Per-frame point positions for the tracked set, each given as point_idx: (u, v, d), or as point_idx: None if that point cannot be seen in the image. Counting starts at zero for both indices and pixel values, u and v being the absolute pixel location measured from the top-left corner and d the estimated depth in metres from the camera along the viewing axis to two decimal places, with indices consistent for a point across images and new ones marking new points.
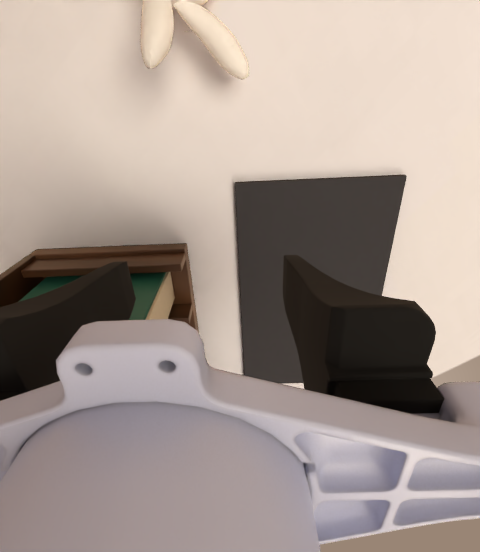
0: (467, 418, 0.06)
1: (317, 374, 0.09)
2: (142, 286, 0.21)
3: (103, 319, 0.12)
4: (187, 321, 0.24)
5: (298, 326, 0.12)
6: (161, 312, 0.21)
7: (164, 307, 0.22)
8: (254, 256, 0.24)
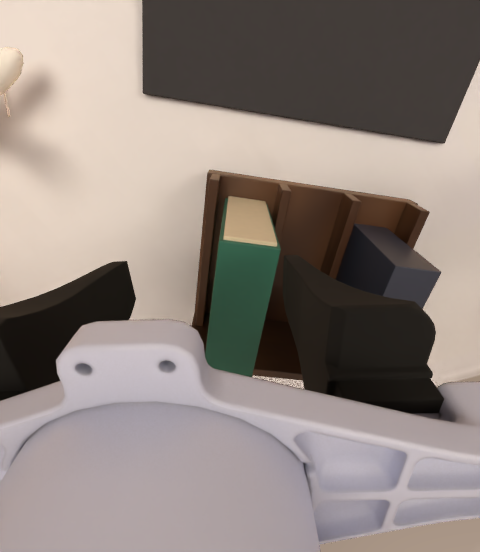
0: (467, 418, 0.06)
1: (317, 374, 0.09)
2: None
3: (103, 319, 0.12)
4: (287, 192, 0.19)
5: (298, 326, 0.12)
6: (247, 215, 0.18)
7: (250, 211, 0.19)
8: (236, 85, 0.19)
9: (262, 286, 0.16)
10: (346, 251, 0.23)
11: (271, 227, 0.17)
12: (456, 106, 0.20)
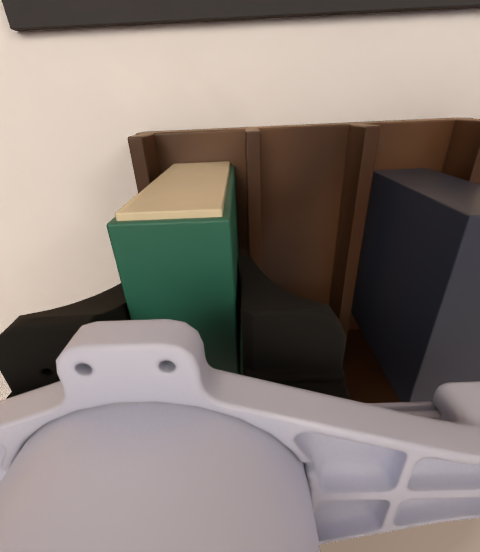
0: (467, 418, 0.06)
1: None
2: None
3: None
4: (254, 135, 0.12)
5: None
6: (187, 179, 0.11)
7: (195, 175, 0.11)
8: None
9: (217, 297, 0.08)
10: (369, 216, 0.15)
11: (222, 188, 0.09)
12: None
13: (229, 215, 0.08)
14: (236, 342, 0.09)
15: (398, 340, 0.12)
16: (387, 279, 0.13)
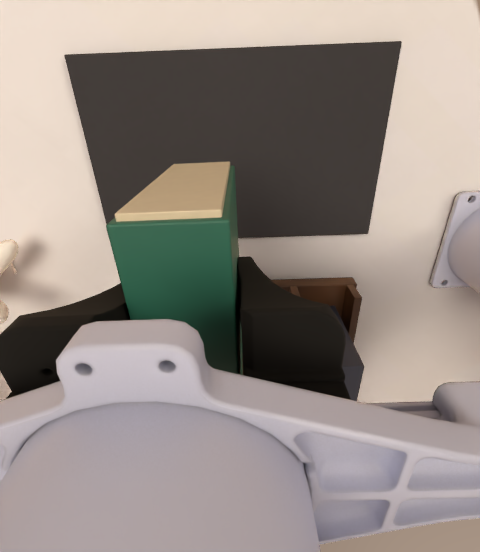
0: (467, 418, 0.06)
1: None
2: None
3: None
4: None
5: None
6: (187, 180, 0.11)
7: (195, 175, 0.11)
8: None
9: (216, 298, 0.08)
10: None
11: (221, 188, 0.09)
12: (369, 206, 0.23)
13: (229, 216, 0.08)
14: (236, 342, 0.09)
15: None
16: None
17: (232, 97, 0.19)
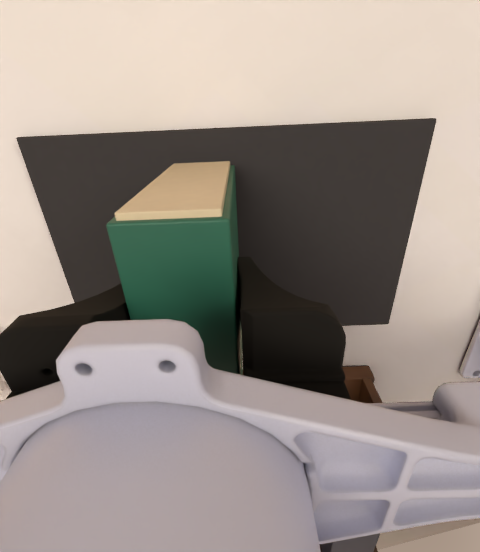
0: (467, 418, 0.06)
1: None
2: None
3: None
4: None
5: None
6: (187, 179, 0.11)
7: (195, 174, 0.11)
8: None
9: (216, 297, 0.08)
10: None
11: (222, 187, 0.09)
12: (390, 296, 0.19)
13: (229, 215, 0.08)
14: (236, 342, 0.09)
15: None
16: None
17: None
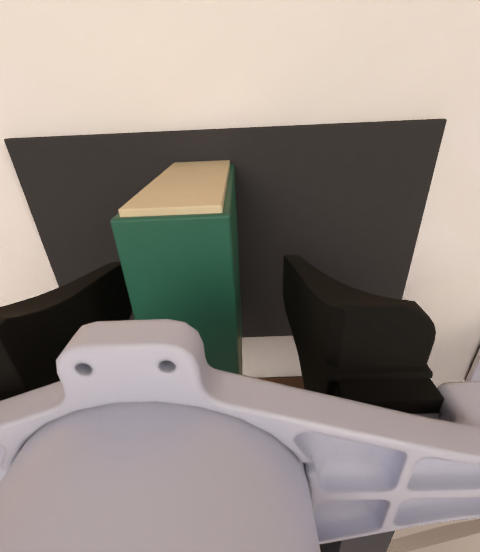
0: (467, 418, 0.06)
1: (317, 374, 0.09)
2: None
3: (103, 319, 0.12)
4: None
5: (298, 326, 0.12)
6: (188, 177, 0.11)
7: (196, 173, 0.12)
8: None
9: (217, 292, 0.09)
10: None
11: (222, 185, 0.10)
12: None
13: (229, 211, 0.08)
14: (236, 336, 0.09)
15: None
16: None
17: None
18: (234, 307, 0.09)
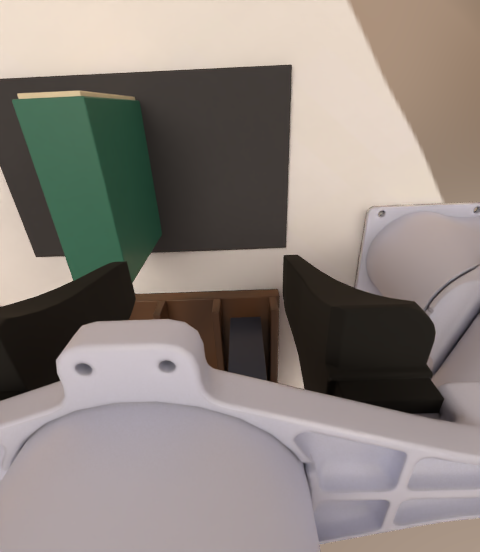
0: (467, 418, 0.06)
1: (317, 374, 0.09)
2: None
3: (103, 319, 0.12)
4: (157, 315, 0.24)
5: (298, 326, 0.12)
6: None
7: None
8: None
9: (86, 154, 0.14)
10: None
11: None
12: (282, 221, 0.23)
13: (86, 96, 0.13)
14: (106, 190, 0.14)
15: None
16: None
17: None
18: (100, 166, 0.14)
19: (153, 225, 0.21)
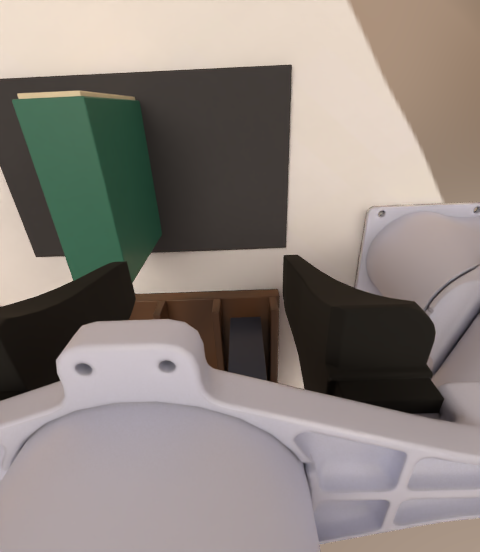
0: (467, 418, 0.06)
1: (317, 374, 0.09)
2: None
3: (103, 319, 0.12)
4: (157, 315, 0.24)
5: (298, 326, 0.12)
6: None
7: None
8: None
9: (86, 154, 0.14)
10: None
11: None
12: (282, 221, 0.23)
13: (86, 96, 0.13)
14: (106, 190, 0.14)
15: None
16: None
17: None
18: (100, 166, 0.14)
19: (153, 225, 0.21)
